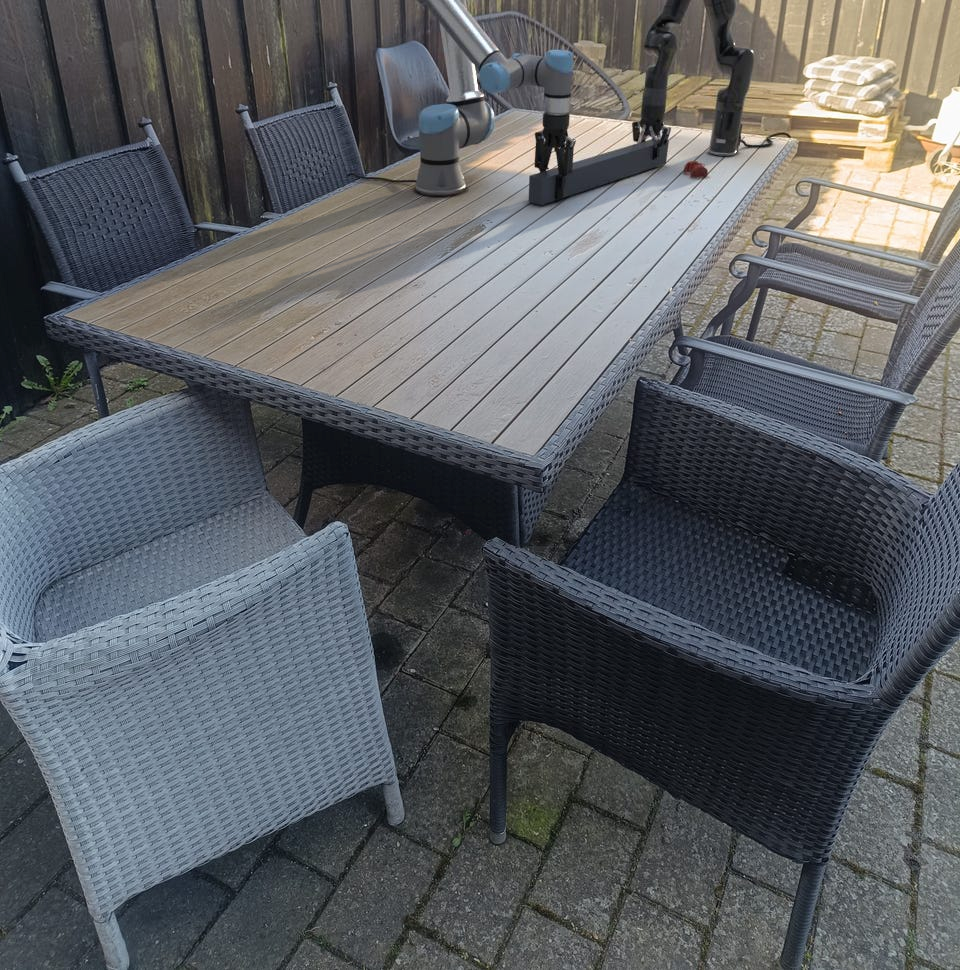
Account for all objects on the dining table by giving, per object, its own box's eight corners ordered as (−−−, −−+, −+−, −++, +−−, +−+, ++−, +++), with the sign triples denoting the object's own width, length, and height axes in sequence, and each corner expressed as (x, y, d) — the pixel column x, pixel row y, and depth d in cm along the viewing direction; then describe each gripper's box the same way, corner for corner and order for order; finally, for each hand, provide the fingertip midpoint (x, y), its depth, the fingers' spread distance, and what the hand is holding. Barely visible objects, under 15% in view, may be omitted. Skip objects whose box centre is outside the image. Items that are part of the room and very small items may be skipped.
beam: (541, 205, 244) (542, 179, 240) (528, 201, 247) (529, 175, 243) (666, 163, 280) (669, 140, 276) (653, 160, 283) (656, 137, 279)
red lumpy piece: (699, 157, 272) (710, 164, 266) (697, 170, 275) (708, 177, 269) (683, 159, 271) (694, 165, 265) (681, 172, 274) (692, 179, 268)
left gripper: (590, 115, 233) (583, 200, 247) (541, 104, 243) (537, 186, 257) (572, 120, 229) (566, 205, 242) (523, 108, 239) (520, 191, 253)
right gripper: (679, 103, 264) (672, 159, 274) (642, 96, 272) (636, 151, 282) (666, 107, 260) (659, 164, 270) (628, 100, 268) (623, 155, 278)
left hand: (551, 195), depth 250 cm, fingers closed on beam, 5 cm apart
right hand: (647, 157), depth 276 cm, fingers closed on beam, 5 cm apart
